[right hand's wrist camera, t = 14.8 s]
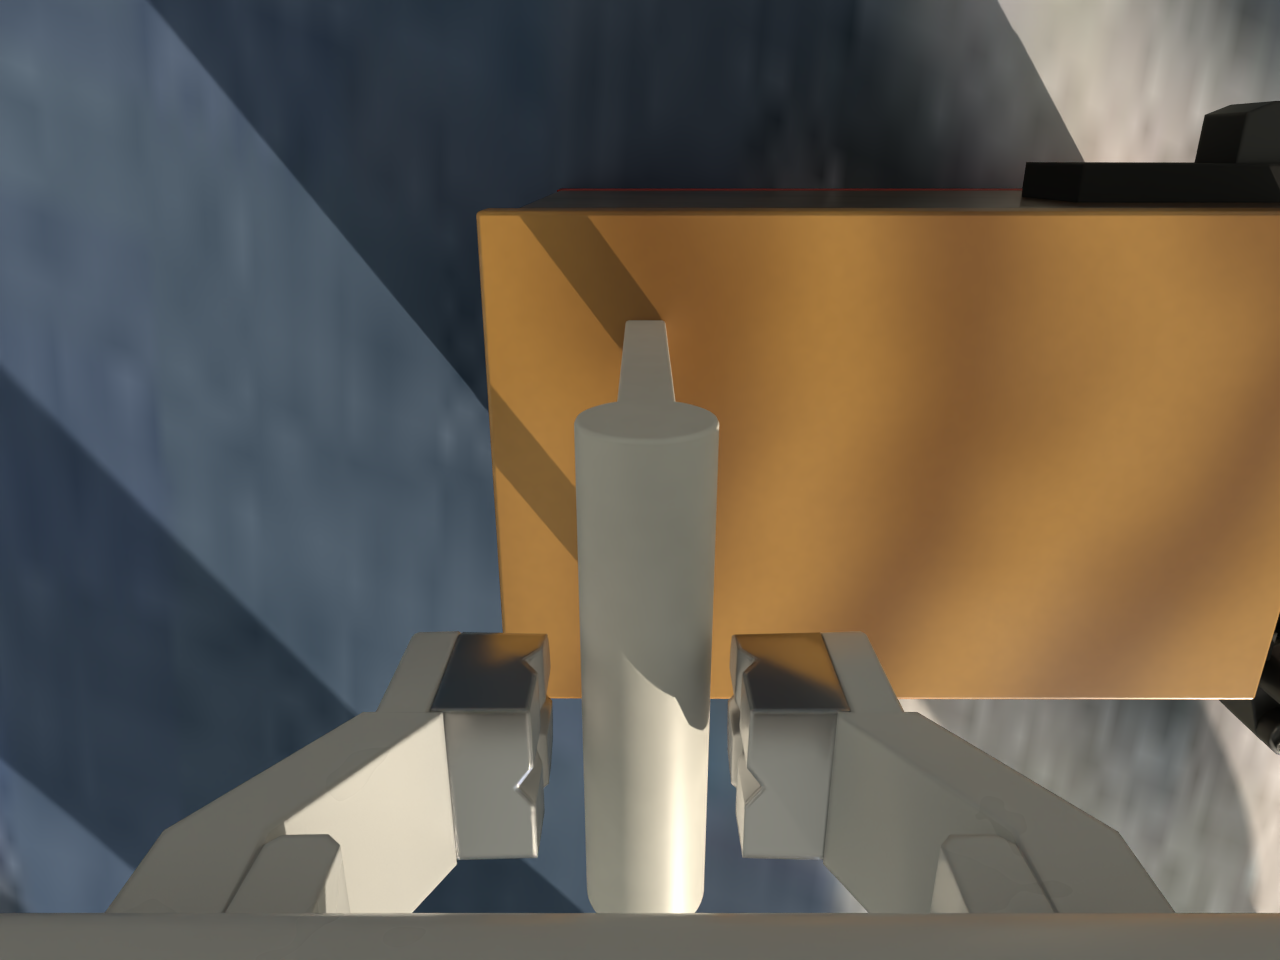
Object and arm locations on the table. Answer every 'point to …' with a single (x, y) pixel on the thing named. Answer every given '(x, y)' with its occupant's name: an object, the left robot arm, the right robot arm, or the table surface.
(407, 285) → the table surface
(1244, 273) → the lid
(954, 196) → the chest
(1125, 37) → the table surface
